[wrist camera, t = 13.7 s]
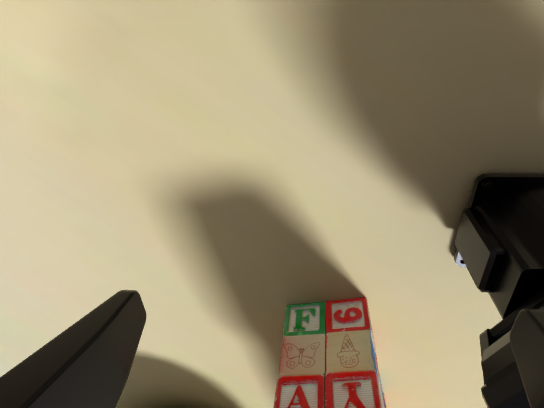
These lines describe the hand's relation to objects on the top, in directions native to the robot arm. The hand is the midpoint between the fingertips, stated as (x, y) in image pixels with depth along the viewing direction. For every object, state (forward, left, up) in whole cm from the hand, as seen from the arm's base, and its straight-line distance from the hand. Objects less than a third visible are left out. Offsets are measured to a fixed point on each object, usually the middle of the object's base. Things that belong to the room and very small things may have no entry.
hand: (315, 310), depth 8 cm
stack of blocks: (-3, +24, -13) cm, 28 cm away
